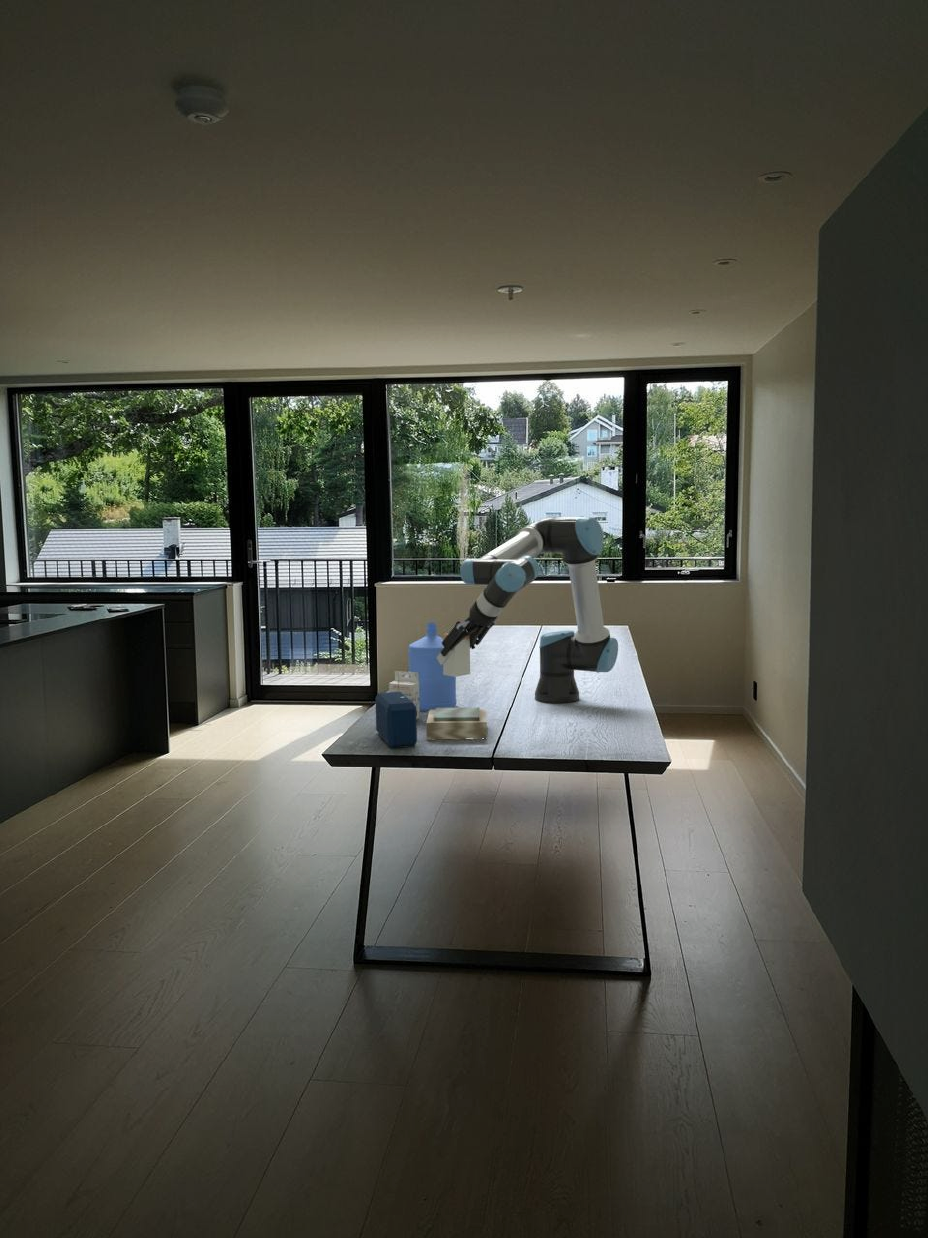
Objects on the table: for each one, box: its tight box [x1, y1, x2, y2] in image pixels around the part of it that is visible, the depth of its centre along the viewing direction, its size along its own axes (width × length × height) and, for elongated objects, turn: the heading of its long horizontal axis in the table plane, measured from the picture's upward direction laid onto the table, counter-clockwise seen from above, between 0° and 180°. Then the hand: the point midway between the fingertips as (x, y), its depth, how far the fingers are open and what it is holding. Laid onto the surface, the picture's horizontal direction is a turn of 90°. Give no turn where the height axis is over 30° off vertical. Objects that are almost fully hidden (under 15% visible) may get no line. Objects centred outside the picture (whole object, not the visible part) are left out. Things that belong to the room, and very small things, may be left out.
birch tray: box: [425, 706, 488, 741], centre depth 269 cm, size 17×17×6 cm
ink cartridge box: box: [388, 670, 420, 720], centre depth 287 cm, size 9×5×15 cm, turn 71°
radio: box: [374, 678, 418, 749], centre depth 261 cm, size 21×9×20 cm, turn 17°
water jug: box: [407, 622, 457, 713], centre depth 303 cm, size 16×16×28 cm
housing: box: [441, 632, 471, 678], centre depth 267 cm, size 5×6×12 cm
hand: (448, 659), depth 270 cm, fingers closed on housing, 6 cm apart
